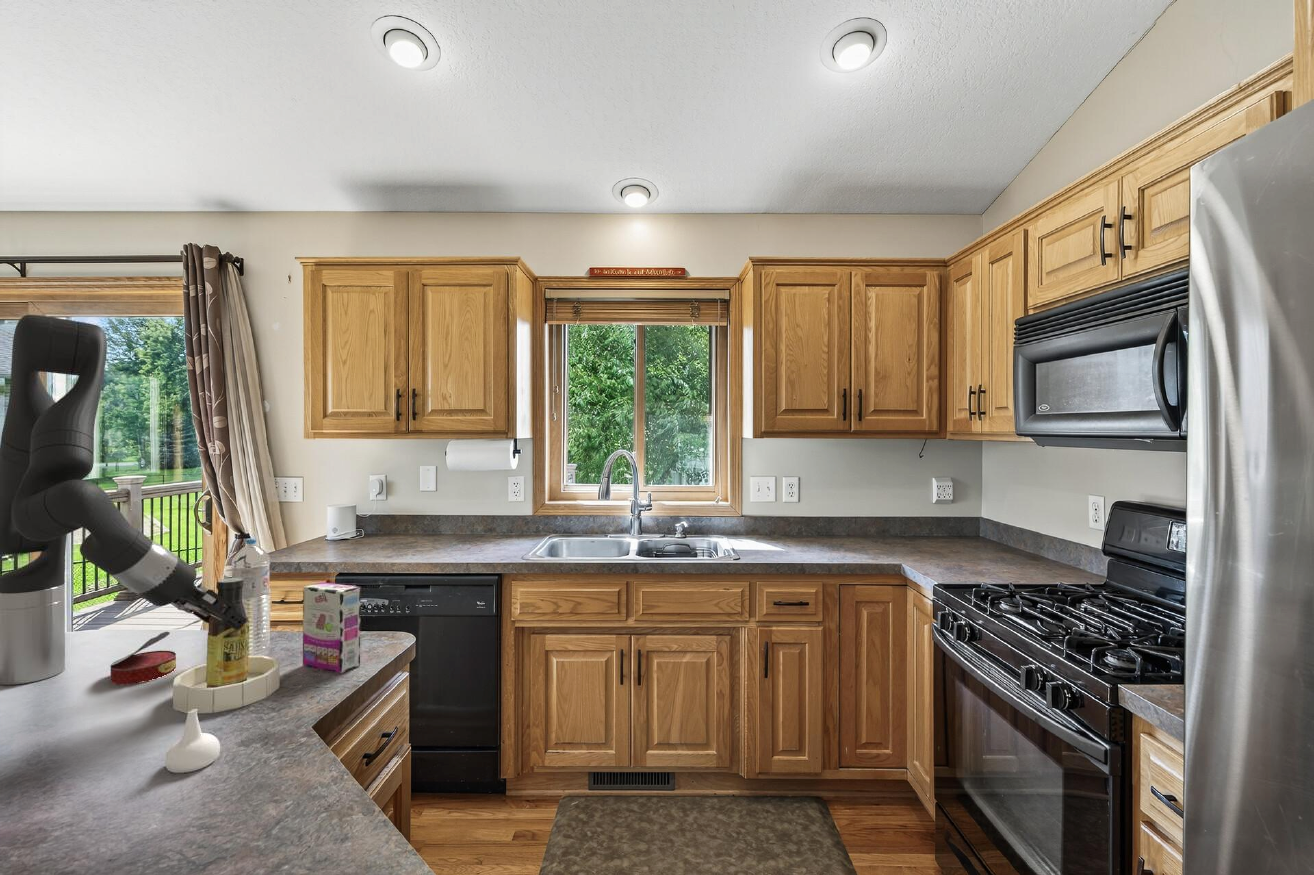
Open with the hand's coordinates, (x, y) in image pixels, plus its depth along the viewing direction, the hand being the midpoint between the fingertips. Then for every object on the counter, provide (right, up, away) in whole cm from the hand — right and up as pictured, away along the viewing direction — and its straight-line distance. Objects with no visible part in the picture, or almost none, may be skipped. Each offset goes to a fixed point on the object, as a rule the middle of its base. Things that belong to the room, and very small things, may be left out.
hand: (227, 621), depth 110 cm
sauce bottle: (0, -12, 0) cm, 12 cm away
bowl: (0, -13, 0) cm, 13 cm away
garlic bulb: (+11, -14, -23) cm, 29 cm away
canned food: (-23, -13, +9) cm, 28 cm away
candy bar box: (+12, -13, +14) cm, 22 cm away
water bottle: (-8, -13, +18) cm, 24 cm away
